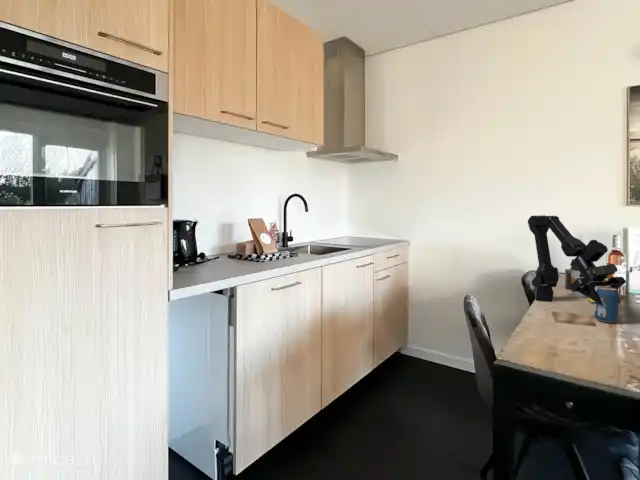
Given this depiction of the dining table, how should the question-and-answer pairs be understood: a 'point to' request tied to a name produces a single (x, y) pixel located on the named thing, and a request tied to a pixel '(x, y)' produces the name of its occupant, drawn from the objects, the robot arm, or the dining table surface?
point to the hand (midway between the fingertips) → (610, 303)
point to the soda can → (607, 304)
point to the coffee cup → (574, 276)
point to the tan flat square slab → (572, 318)
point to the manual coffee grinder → (567, 278)
